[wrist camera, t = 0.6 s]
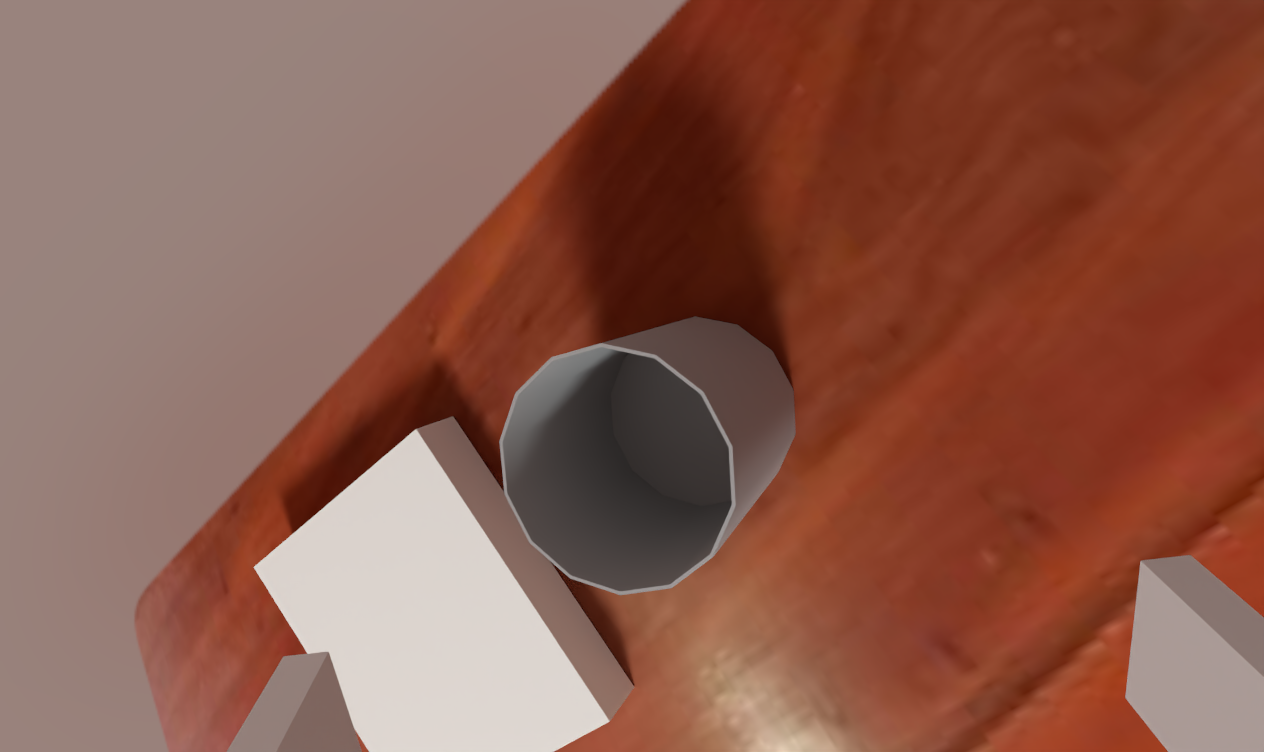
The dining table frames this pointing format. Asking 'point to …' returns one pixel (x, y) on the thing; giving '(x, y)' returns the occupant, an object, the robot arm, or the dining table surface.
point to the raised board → (442, 610)
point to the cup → (645, 451)
